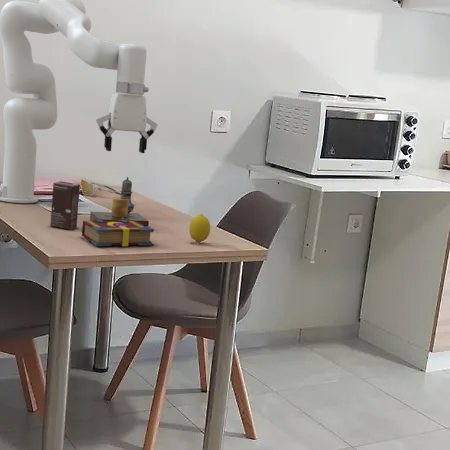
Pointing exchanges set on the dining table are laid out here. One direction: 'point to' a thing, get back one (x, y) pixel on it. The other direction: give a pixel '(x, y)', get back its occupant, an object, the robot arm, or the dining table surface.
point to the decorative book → (116, 233)
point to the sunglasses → (91, 188)
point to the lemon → (199, 228)
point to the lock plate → (108, 217)
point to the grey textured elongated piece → (127, 193)
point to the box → (65, 205)
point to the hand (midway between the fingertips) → (125, 151)
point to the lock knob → (120, 207)
